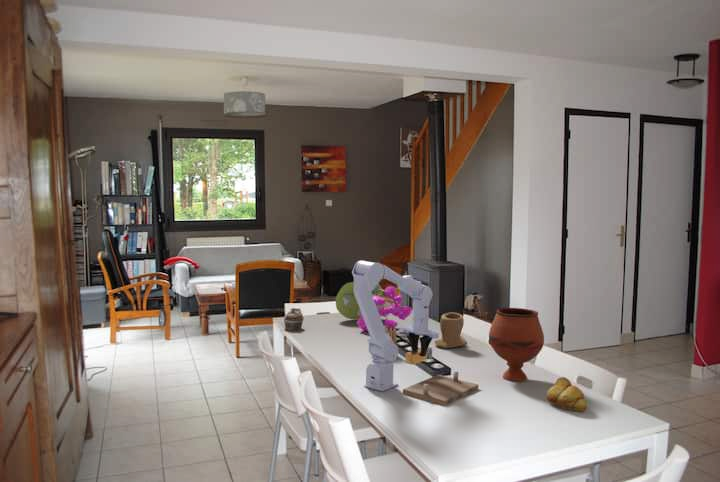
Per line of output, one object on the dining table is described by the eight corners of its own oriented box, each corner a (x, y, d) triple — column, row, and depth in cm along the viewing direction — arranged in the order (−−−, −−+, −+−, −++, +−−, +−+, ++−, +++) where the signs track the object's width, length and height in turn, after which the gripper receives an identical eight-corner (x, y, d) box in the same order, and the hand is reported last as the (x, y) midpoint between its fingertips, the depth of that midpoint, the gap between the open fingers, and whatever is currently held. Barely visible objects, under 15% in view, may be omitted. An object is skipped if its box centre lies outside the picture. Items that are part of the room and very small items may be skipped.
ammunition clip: (394, 354, 233) (395, 326, 232) (396, 355, 231) (397, 327, 230) (371, 357, 228) (372, 328, 227) (373, 358, 227) (374, 328, 226)
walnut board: (444, 405, 175) (445, 391, 174) (402, 393, 185) (403, 380, 184) (478, 388, 191) (478, 375, 191) (438, 378, 202) (438, 366, 201)
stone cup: (446, 351, 239) (448, 317, 238) (430, 345, 250) (431, 312, 249) (474, 348, 247) (475, 314, 246) (457, 341, 257) (458, 309, 256)
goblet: (481, 370, 213) (483, 305, 211) (530, 370, 214) (533, 306, 213) (496, 386, 194) (499, 315, 192) (550, 386, 195) (553, 316, 194)
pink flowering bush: (381, 263, 301) (412, 282, 270) (389, 311, 310) (420, 334, 278) (330, 279, 291) (356, 300, 260) (339, 328, 300) (365, 354, 268)
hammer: (414, 365, 195) (414, 355, 195) (403, 362, 198) (404, 352, 198) (434, 357, 206) (434, 348, 205) (424, 355, 208) (424, 346, 208)
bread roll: (594, 412, 173) (595, 386, 172) (570, 416, 168) (572, 390, 168) (562, 398, 184) (563, 374, 184) (540, 402, 180) (541, 377, 180)
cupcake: (285, 326, 281) (285, 306, 280) (304, 326, 280) (304, 307, 280) (281, 330, 271) (282, 310, 270) (301, 331, 271) (302, 310, 270)
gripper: (443, 319, 199) (442, 356, 200) (409, 313, 208) (408, 349, 209) (433, 322, 194) (431, 360, 195) (398, 316, 203) (397, 352, 204)
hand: (419, 355), depth 202 cm, fingers closed on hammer, 3 cm apart
